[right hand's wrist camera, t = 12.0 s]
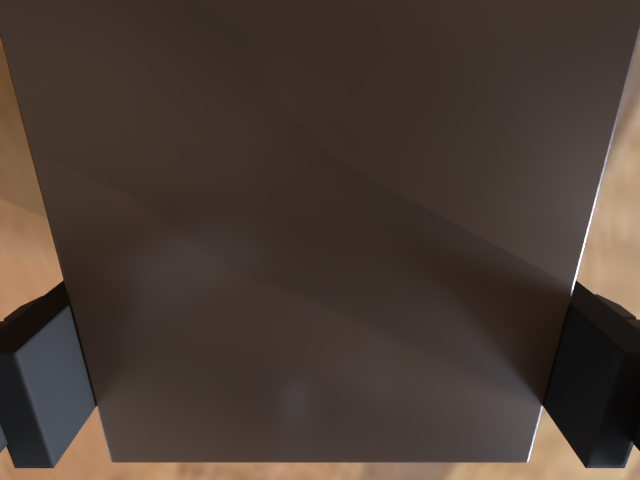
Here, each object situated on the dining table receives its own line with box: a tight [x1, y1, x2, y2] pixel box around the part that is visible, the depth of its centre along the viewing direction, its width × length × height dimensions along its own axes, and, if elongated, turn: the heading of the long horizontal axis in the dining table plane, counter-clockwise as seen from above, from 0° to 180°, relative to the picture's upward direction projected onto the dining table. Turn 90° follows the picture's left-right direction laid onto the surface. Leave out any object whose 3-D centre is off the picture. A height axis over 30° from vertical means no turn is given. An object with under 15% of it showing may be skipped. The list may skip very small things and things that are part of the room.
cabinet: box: [0, 0, 640, 463], centre depth 10 cm, size 20×10×9 cm, turn 0°
